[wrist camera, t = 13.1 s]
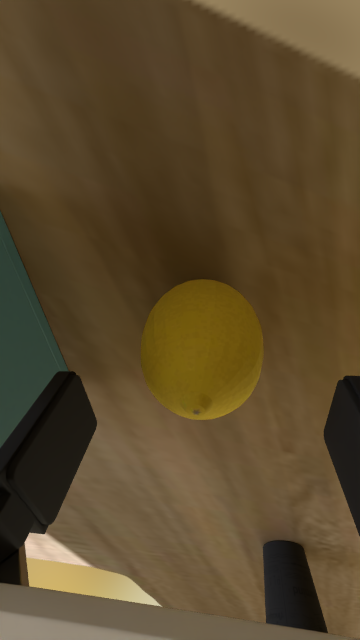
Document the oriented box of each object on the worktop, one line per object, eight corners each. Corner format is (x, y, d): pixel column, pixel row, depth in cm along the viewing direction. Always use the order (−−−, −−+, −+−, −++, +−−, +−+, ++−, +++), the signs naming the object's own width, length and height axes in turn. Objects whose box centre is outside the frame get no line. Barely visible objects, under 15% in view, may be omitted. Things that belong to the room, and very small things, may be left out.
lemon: (223, 351, 18) (226, 474, 11) (146, 317, 17) (99, 426, 10) (272, 283, 15) (317, 395, 8) (182, 238, 14) (149, 320, 7)
